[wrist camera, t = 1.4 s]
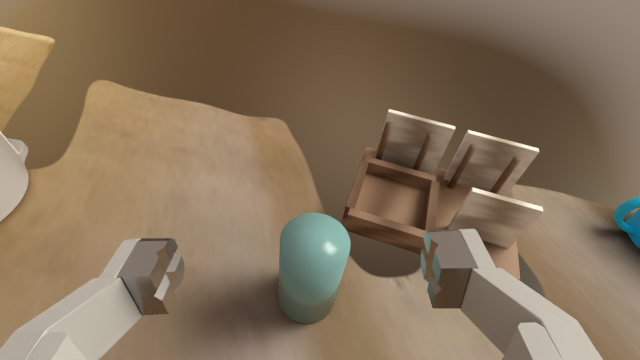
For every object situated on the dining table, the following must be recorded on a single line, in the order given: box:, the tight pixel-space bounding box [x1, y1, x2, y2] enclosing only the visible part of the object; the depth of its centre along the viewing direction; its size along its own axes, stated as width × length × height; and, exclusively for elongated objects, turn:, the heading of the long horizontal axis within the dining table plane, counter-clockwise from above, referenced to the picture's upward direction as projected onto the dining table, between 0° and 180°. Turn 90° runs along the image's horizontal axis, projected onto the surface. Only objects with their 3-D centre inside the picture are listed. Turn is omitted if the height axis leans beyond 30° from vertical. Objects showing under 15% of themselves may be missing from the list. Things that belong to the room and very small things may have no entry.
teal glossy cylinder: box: [278, 213, 350, 324], centre depth 32 cm, size 6×6×10 cm
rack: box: [341, 109, 543, 280], centre depth 41 cm, size 20×14×9 cm
